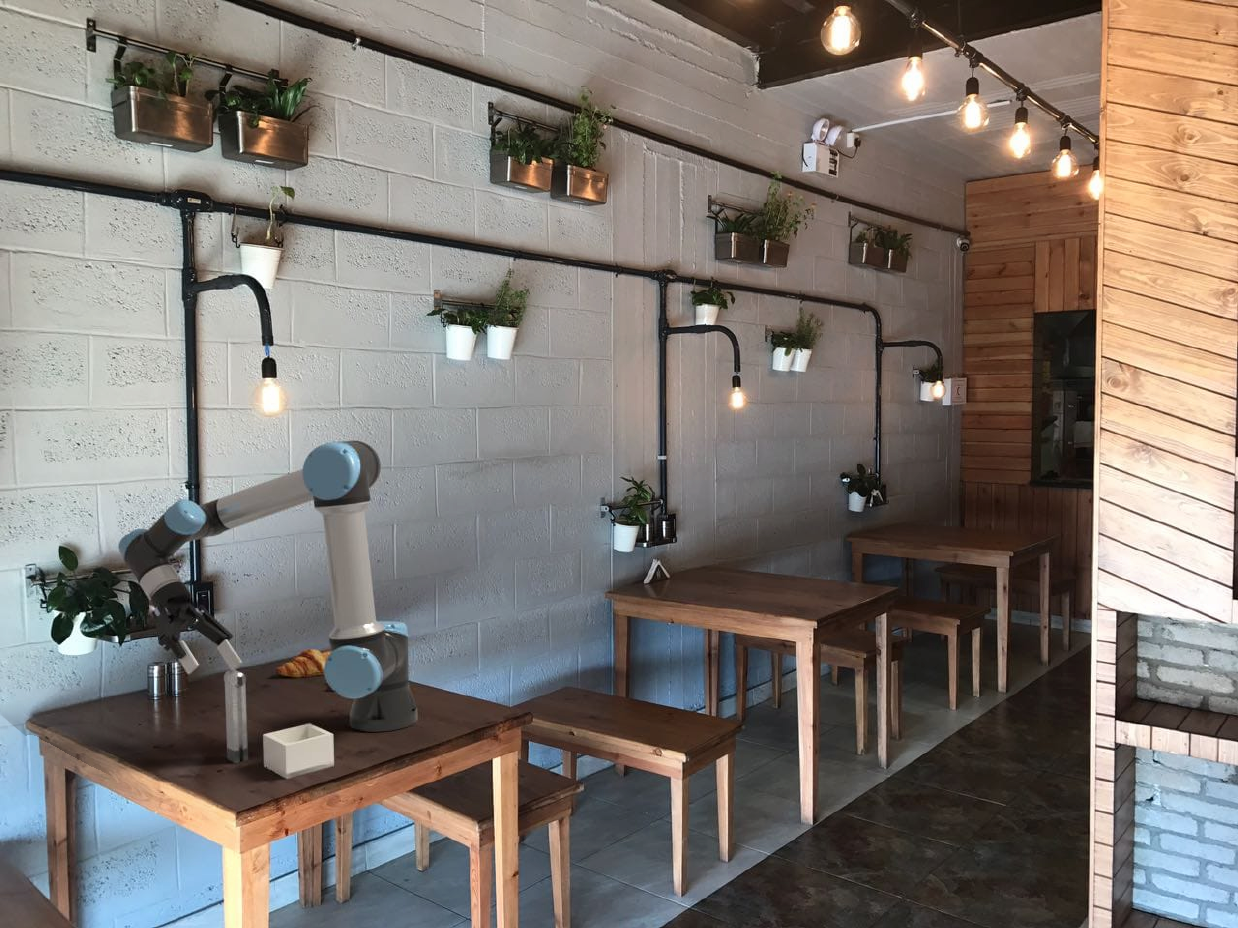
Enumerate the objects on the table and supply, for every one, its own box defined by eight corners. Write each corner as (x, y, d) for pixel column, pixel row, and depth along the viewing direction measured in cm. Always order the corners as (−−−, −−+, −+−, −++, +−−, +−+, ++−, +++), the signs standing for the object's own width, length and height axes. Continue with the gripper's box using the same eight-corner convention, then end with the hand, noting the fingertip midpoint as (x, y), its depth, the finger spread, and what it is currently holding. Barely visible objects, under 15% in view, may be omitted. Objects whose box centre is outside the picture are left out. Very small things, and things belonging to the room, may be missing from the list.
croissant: (348, 676, 282) (343, 649, 284) (361, 665, 275) (356, 638, 277) (273, 688, 269) (268, 659, 271) (285, 677, 261) (280, 648, 264)
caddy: (310, 753, 207) (309, 723, 207) (334, 765, 200) (333, 733, 200) (264, 766, 200) (263, 734, 200) (286, 778, 193) (285, 745, 193)
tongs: (240, 755, 207) (237, 668, 206) (251, 760, 204) (248, 672, 203) (226, 758, 205) (223, 670, 204) (236, 764, 202) (233, 675, 201)
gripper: (194, 603, 227) (242, 676, 221) (110, 601, 204) (160, 683, 197) (217, 582, 226) (265, 654, 220) (135, 576, 203) (186, 658, 196)
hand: (216, 668), depth 208 cm, fingers open, 13 cm apart
